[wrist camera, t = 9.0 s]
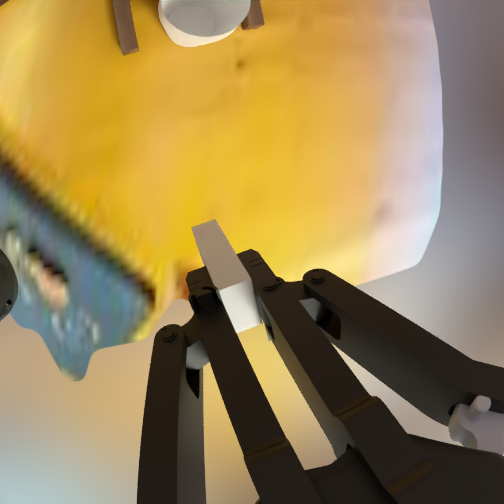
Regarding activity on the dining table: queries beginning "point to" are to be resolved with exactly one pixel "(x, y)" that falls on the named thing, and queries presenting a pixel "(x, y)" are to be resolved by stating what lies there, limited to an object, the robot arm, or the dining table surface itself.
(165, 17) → the cup
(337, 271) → the dining table surface
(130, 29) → the walnut pocket
